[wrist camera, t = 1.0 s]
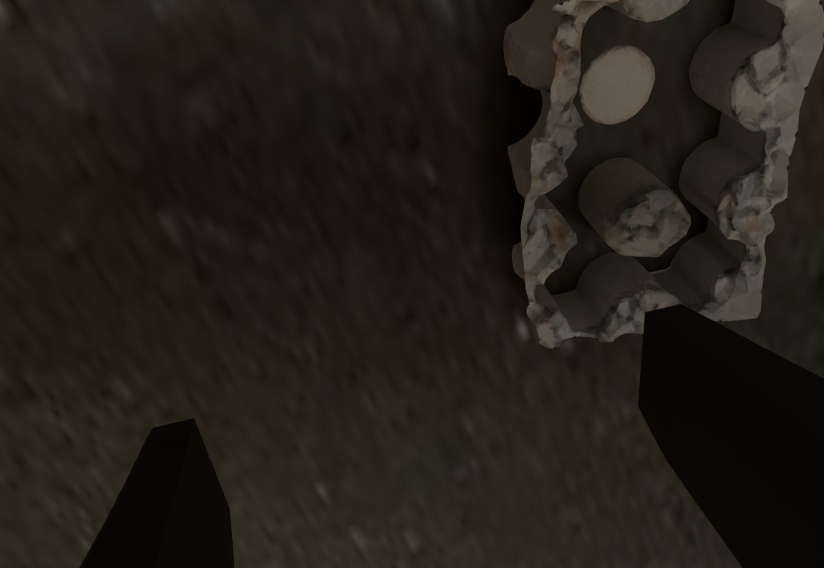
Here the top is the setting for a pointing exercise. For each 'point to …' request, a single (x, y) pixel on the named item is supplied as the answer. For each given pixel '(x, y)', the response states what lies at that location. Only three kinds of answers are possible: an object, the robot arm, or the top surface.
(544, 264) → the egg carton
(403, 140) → the top surface
